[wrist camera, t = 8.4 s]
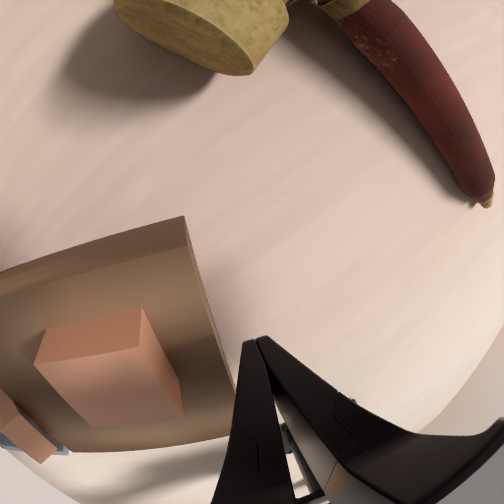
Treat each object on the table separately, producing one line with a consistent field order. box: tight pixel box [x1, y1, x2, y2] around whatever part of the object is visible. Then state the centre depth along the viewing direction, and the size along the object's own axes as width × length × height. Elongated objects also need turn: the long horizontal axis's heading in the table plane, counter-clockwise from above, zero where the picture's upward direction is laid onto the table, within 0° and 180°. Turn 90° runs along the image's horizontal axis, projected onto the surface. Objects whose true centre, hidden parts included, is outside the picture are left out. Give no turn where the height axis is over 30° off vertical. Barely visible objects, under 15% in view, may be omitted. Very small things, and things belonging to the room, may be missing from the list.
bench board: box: [0, 216, 236, 452], centre depth 11 cm, size 12×12×2 cm
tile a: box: [0, 388, 58, 464], centre depth 10 cm, size 4×4×2 cm
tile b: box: [34, 307, 184, 427], centre depth 9 cm, size 4×4×2 cm
